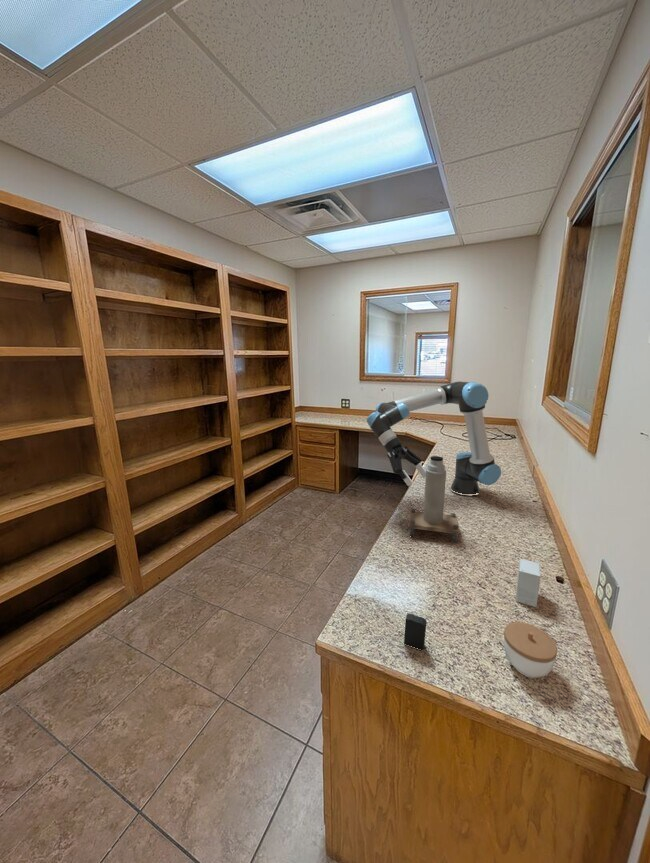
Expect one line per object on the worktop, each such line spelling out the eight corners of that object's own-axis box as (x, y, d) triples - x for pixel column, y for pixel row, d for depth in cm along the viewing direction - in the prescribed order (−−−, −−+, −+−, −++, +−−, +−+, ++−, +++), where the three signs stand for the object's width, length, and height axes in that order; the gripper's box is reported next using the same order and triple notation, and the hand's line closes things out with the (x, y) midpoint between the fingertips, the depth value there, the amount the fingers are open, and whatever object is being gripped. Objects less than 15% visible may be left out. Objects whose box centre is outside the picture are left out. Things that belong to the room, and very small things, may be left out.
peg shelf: (455, 528, 145) (456, 513, 144) (458, 544, 132) (460, 528, 131) (409, 522, 151) (410, 507, 149) (408, 537, 138) (408, 521, 136)
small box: (536, 608, 97) (540, 576, 95) (515, 601, 100) (518, 570, 98) (536, 592, 104) (540, 563, 102) (516, 586, 107) (519, 557, 105)
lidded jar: (504, 678, 76) (508, 644, 74) (498, 642, 85) (502, 611, 84) (559, 694, 72) (565, 658, 70) (546, 655, 82) (551, 622, 80)
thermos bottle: (428, 514, 146) (431, 453, 140) (445, 519, 141) (450, 456, 135) (420, 520, 140) (423, 457, 135) (437, 526, 135) (442, 461, 129)
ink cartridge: (424, 644, 85) (427, 618, 83) (423, 651, 83) (425, 624, 81) (405, 638, 87) (407, 612, 85) (403, 644, 85) (405, 618, 83)
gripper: (399, 441, 161) (426, 477, 153) (369, 451, 143) (397, 492, 136) (409, 432, 156) (437, 469, 149) (379, 441, 138) (409, 483, 131)
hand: (418, 480), depth 142 cm, fingers open, 13 cm apart
